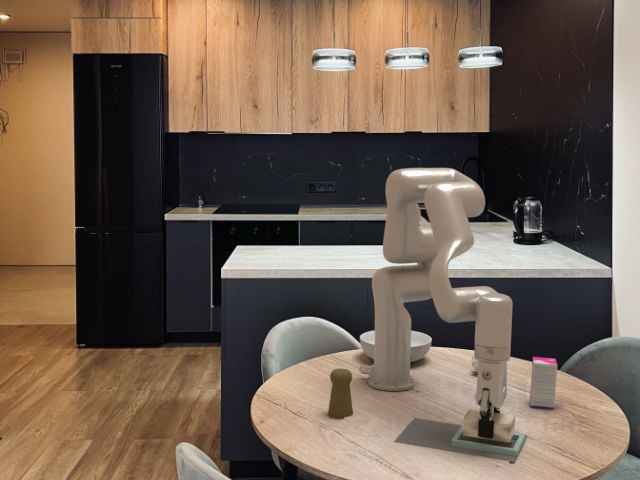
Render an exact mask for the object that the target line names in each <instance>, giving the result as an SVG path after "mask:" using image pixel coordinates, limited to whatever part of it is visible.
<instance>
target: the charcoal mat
mask: <svg viewBox="0 0 640 480" xmlns="http://www.w3.org/2000/svg"><path fill="white" fill-rule="evenodd" d="M462 425H463V424H456V423H448V422H444V421H436V420H429V419H423V418H416V417H414V418H413V419H412V420H411V421H410V423H408V425H406V426H405V428H404V429H403V430H402V431H401V433H399V435H398V436H397V437H396V438H395V439H394V440H393V442H394V443H396V444H397V443H398V444H404V445H408V446H409V445H411V446H415V447H422V448H428V449H435V450H439V451H446V452H453V453H459V454H462V455H463V454H464V455H471V456H477V457H482V458H483V457H484V458H489V459H495V460H501V461H506V462H508V463H509V464H515V463H516V460H517V459H518V458H519V455H520V453H521V451H522V449H523V446H524V444H525V442H526V439H528V435H527V434H524V435H525V441H524V443H523V445H522V447H521V449H520V451H519V453H518V455H517V456H511V455H505V454H499V453H493V452H487V451H481V450H474V449H468V448H462V447H456V446H451V440H452V439H453V437H454V436H455V435H456V433H457V432H458V430H459V429H460V427H461V426H462ZM460 440H463V441H470V442H476V443H482V444H488V445H495V446H501V447H507V448H514V446H515V444H516V442H517V440H512V439H511V441H510V442H503V441H496V440H490V439H484V438H477V437H471V436H464V435H463V436H462V438H461V439H460Z"/></svg>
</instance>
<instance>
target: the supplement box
mask: <svg viewBox="0 0 640 480" xmlns="http://www.w3.org/2000/svg"><path fill="white" fill-rule="evenodd" d="M531 365H532V366H531V380H530V390H529V408H531V409H542V410H555V402H556V401H555V400H556V389H557V376H558V363H557V359H556V358H551V357H541V356H540V357H538V356H533V357H532V364H531Z"/></svg>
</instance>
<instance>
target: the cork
mask: <svg viewBox="0 0 640 480" xmlns="http://www.w3.org/2000/svg"><path fill="white" fill-rule="evenodd" d="M329 377H330V382H331V390H330V398H329V404H328V410H327V415H328V417H329V418H332V419H337V420H344V419H345V418H349V417H351V416H353V415H354V409H353V401H352V392H351V391H352V390H351V385H350V384H351V382H352V380H353V373H352V372H351V370H349V369H347V368H336V369H333V370H332V371H331V372H330V374H329Z"/></svg>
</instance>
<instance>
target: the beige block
mask: <svg viewBox="0 0 640 480" xmlns="http://www.w3.org/2000/svg"><path fill="white" fill-rule="evenodd" d="M479 413H480V409H472V408H469V409H468V410H467V412H466V414H464V416H463V418H462V419H463V423H462V425H463V435H464V436H471V437H477V438H482V437H479V436H478V422H479ZM489 413H490V412H489ZM493 420H494V434H493V438H492V439H490V440H496V441H503V442H510V441H511V439H512V437H513V435H514V433H515V429H516V415H515V414H507V413H501V412H500V413H494V412H493ZM484 439H489V438H484Z"/></svg>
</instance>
